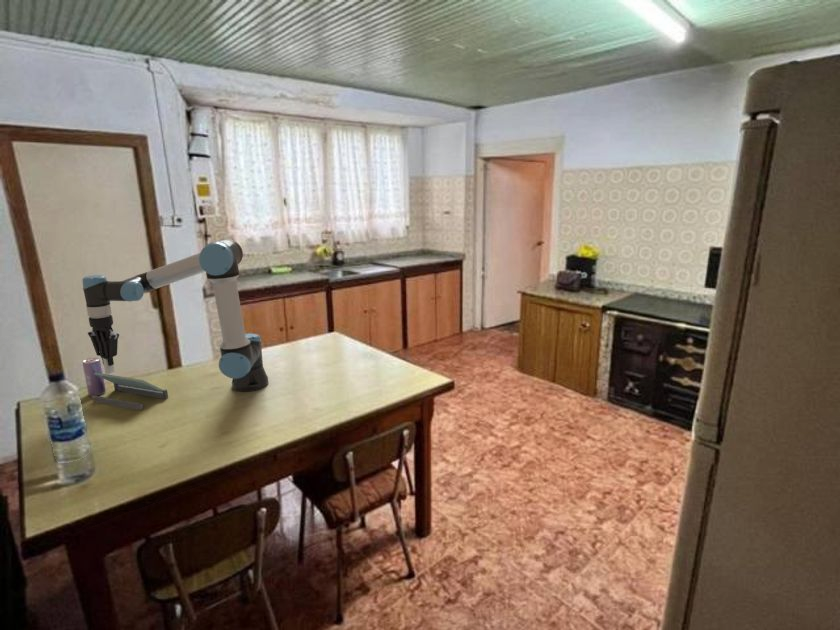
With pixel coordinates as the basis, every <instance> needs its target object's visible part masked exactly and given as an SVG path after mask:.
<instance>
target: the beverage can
mask: <svg viewBox="0 0 840 630" xmlns="http://www.w3.org/2000/svg"><path fill="white" fill-rule="evenodd" d="M82 368H83V373H84V378H85V383H86V384H85V385H86V388H87V394H88V395H89V396H91V397H93V396H99V397H100V396H102V395H104V394H105V393H106V391H107V390H106V385H105V384H106V383H105V379H103V378H101V377H99V376H97V375H94V373H95V372H96V373H102V374H104V373H103V368H102V362H101V360H100V358H99V357H89V358H87V359H83V360H82Z"/></svg>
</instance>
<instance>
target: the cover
mask: <svg viewBox="0 0 840 630" xmlns="http://www.w3.org/2000/svg"><path fill="white" fill-rule="evenodd" d="M102 373H103V372H102ZM102 373H96V372H95V373H94V375H97V376H99V377H101V378H103V379H104V380H105V381H108V382H110V383H111V384H112V383H113V384H114V383H115V384H117V385H122V386H128V387H134V388H140V389H146V390H152V391H158V392H163V390H164V389H162V388H159V387H158V386H156V385H154V384H151V383H149V382H147V381H145V380H144V379H138V378H132V377H128V376H127V377H126V376H119V375H113V374H105V373H103V374H102Z"/></svg>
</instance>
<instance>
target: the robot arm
mask: <svg viewBox="0 0 840 630" xmlns="http://www.w3.org/2000/svg"><path fill="white" fill-rule="evenodd" d="M243 257H244V252H243V249H242V246H241V245H240V244H239V243H238V242H237V241H235V240H234V239H231V238H222V239H219V240H215V241H213V242H212V241H211V242H210V243H207V245H205V246H204V247H203V248H202V249H201V251H200V252H199V253H196V254H194V255H190V256H187V257H185V258H182V259H179V260H176V261H174V262H171V263H168V264H165V265H163V266H160V267H156V268H154V269H151V270H149V271H146V272H143V273H139V274H137V275H135V276H132V277H129V278H126V279H124V280H121V281H120V280H118V281H116V280H114V281H112V280H111V281H110V280H108V279H107V277H106V276H105V275H103V274H96V275H95V274H93V275H87V276H84V277H83V278H82V280H81V281H82V290H83V295H84V300H85V303H86V304H85V305H86V312H87V316H88V323H89V327H90V328H92V329H91V331H89V332H87V335H88V337H89V338H90V341H91V343H92V346H93V348H94V351H95V353H96V356H97V357H98V356H99V357H100V358H101V360H102V364H103V367H104V374H108V375H111V374H112V373H114V372H115V367H114V364H115V363H114V362H115V361H114V357H117V355H118V344H119V343H118V341H119V340H118V339H119V337H120V334H119V333H115V332H114V328H113V327H112V326H113V324H114V318H113V315H112V307H111V302H130V303H132V302H138V301H140V300H141V299H142V298H143V296H144V294H146V293H149V292H151V291H154V290H156V289H159V288H162V287H165V286H168V285H171V284H174V283H176V282H178V281H179V282H180V281H182V280H184V279H185V280H186V279H188V278H190V277H194V276H196V275H198V274H201V273H206V274H205V275H206V280H208V281H209V282H211V283H212V288H213V293H214V299H215V306H216V311H217V316H218V322H219V327H220V333H221V338H222V342H221V343H220V344H219V351H220V358H219V361H218V369H219V371H220V373H222V374H223V376H226V377H227V378H229V379H231V388H232V389H233V390H235V391H239V392H252V390H254V391H256V390H257V389H258V390H260V388H261V389H263V388H265V387H266V386H268V384H269V377H268V375H267V373H266V370H265V368H264V364H263V363H264V362H263V351H262V339H261V336H260V335H259V334H256V333H246V331H245V326H244V324H245V323H244V319H243V313H242V308H241V306H242V305H241V302H240V294H239V289H238V283H237V279H238V278H239V276H240V270H239V265H240V263H241V262H242V260H243ZM264 386H265V387H264ZM262 387H263V388H262Z"/></svg>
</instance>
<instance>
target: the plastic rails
mask: <svg viewBox="0 0 840 630" xmlns="http://www.w3.org/2000/svg"><path fill="white" fill-rule="evenodd" d="M113 387H114V391H116V392H117V391H119V392H122V393H123V392H124V393H127V394H129V393H130V394H133V395H134V394H135V395H140V396H146V397H152V398H158V399H163V400H167V399H169V393H168V389H162V390H163V392H158V391H152V390H146V389H140V388H134V387H128V386H122V385H117V384H115V383H113ZM92 401H93V403H97V404H104V405H109V406H114V407H120V408H125V409H131V410H136V411H142V410H143V409H144V408H143V404H142V403H136V402H132V401H127V400H120V399H114V398H111V397H110V398H108V397H103V396H100V395H99V396H92Z"/></svg>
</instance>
